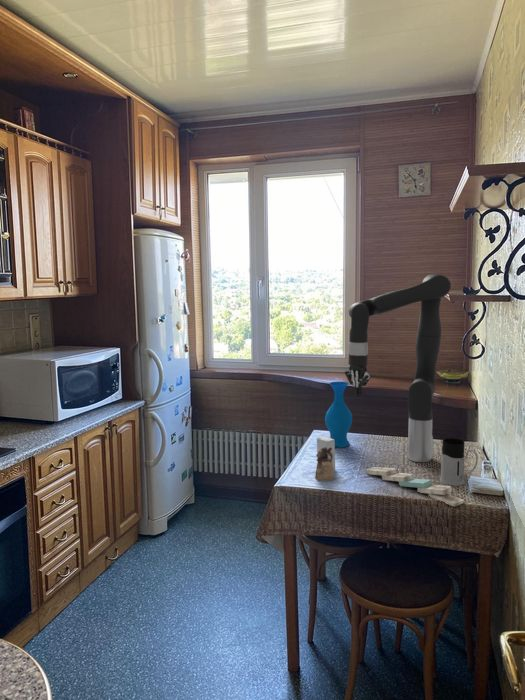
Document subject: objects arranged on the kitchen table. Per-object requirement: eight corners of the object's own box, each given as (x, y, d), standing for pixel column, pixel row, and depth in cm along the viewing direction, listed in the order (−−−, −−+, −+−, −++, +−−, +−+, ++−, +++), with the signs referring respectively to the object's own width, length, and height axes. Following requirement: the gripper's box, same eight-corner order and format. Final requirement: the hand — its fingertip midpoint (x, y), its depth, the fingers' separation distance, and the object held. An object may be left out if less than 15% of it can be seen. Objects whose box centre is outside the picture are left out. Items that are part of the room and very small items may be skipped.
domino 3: (406, 478, 192) (431, 479, 184) (406, 482, 192) (431, 484, 184) (398, 481, 188) (423, 483, 181) (399, 486, 188) (424, 488, 181)
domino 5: (437, 490, 182) (463, 499, 174) (437, 494, 182) (463, 504, 174) (428, 494, 179) (455, 503, 171) (428, 498, 179) (454, 508, 171)
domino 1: (374, 466, 203) (395, 468, 196) (375, 470, 203) (396, 472, 196) (366, 469, 200) (387, 471, 193) (366, 474, 200) (387, 475, 192)
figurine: (319, 473, 202) (319, 442, 200) (336, 476, 198) (337, 445, 197) (312, 479, 196) (312, 448, 194) (330, 482, 192) (330, 450, 191)
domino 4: (424, 484, 186) (451, 486, 179) (425, 488, 186) (451, 490, 179) (417, 487, 182) (444, 490, 175) (418, 492, 182) (444, 494, 175)
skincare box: (335, 469, 206) (335, 439, 204) (327, 471, 203) (327, 441, 201) (324, 465, 210) (324, 435, 209) (316, 467, 208) (316, 437, 206)
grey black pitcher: (449, 474, 199) (450, 436, 197) (483, 486, 187) (485, 445, 185) (434, 479, 194) (435, 440, 192) (468, 492, 182) (470, 450, 180)
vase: (356, 442, 239) (357, 382, 235) (345, 450, 228) (346, 387, 224) (331, 439, 245) (331, 379, 241) (320, 446, 234) (320, 384, 230)
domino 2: (390, 472, 198) (412, 473, 190) (390, 476, 198) (413, 478, 190) (381, 475, 194) (404, 477, 187) (382, 479, 194) (405, 481, 187)
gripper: (339, 352, 212) (339, 394, 215) (363, 356, 202) (363, 400, 204) (352, 350, 217) (352, 392, 219) (377, 354, 206) (376, 397, 208)
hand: (357, 395), depth 212 cm, fingers closed
